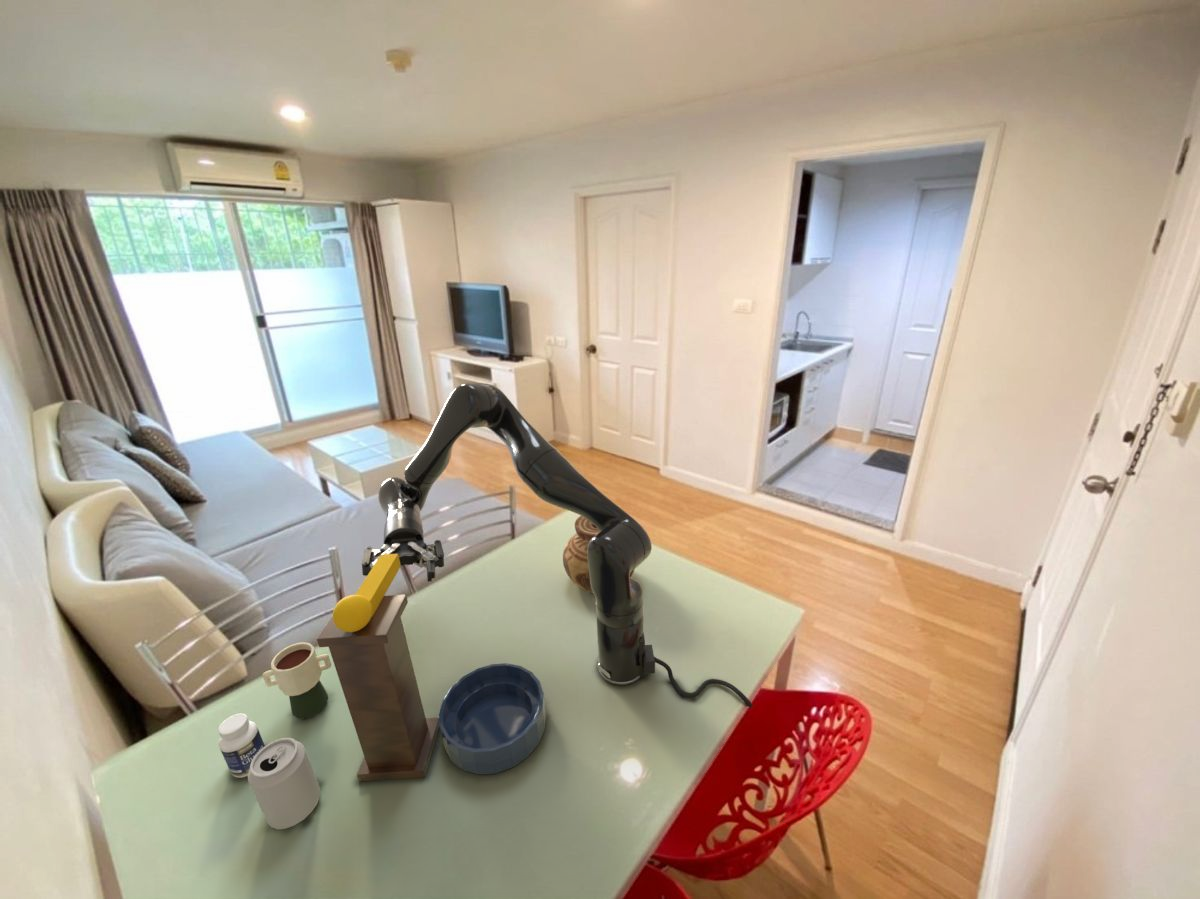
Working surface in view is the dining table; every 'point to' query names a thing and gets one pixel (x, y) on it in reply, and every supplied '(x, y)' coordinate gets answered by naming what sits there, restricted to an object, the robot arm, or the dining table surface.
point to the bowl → (492, 718)
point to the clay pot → (580, 553)
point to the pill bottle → (239, 743)
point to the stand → (383, 694)
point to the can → (284, 783)
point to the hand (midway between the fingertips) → (404, 580)
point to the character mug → (300, 678)
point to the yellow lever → (366, 595)
